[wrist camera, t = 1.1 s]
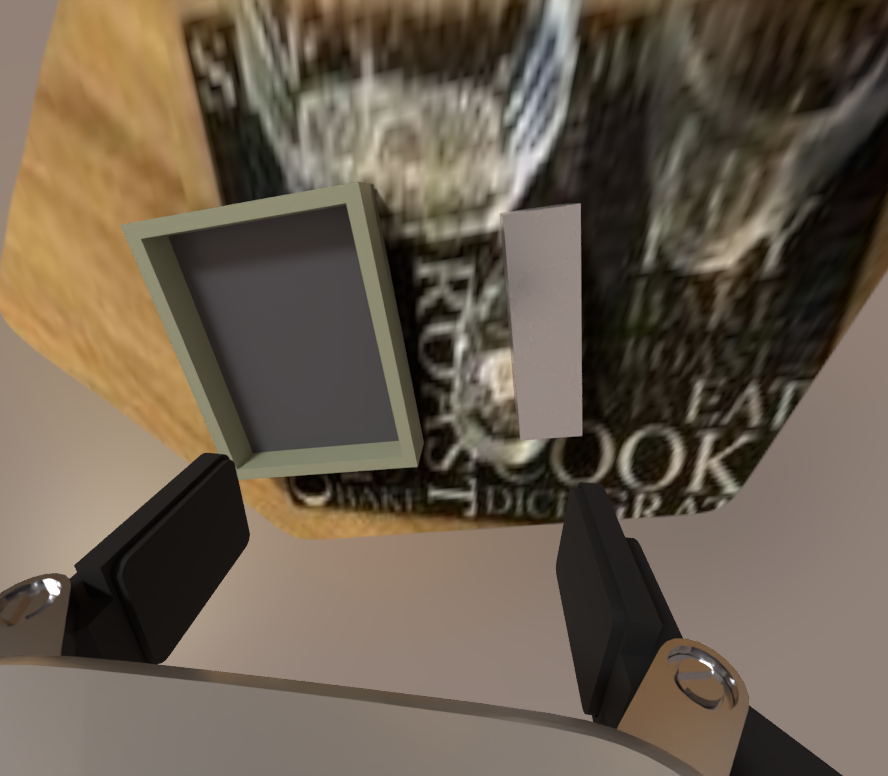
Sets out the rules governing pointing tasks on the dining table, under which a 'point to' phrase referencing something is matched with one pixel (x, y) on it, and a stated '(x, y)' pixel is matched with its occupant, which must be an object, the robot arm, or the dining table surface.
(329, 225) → the case
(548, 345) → the bar
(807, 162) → the dining table surface
